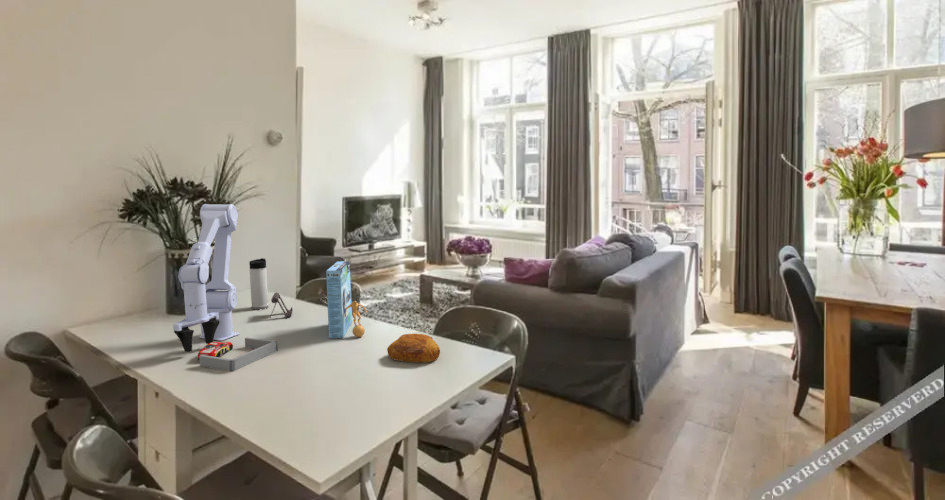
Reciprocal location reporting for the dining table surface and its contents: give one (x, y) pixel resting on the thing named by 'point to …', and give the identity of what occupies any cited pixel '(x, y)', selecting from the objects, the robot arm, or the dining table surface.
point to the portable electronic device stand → (275, 300)
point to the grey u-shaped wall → (260, 351)
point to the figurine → (358, 329)
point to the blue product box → (339, 299)
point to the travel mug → (258, 284)
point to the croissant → (414, 348)
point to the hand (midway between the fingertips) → (198, 347)
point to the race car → (216, 349)
